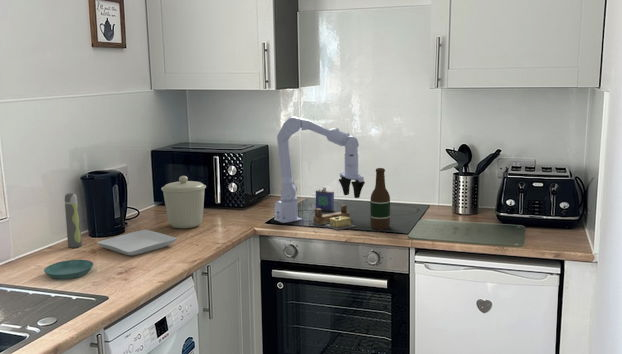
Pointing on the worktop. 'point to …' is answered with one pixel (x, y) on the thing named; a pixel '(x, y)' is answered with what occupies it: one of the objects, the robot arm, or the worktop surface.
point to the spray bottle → (72, 221)
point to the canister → (184, 202)
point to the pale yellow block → (340, 221)
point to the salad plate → (137, 242)
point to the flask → (325, 200)
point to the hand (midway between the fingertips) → (351, 196)
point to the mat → (340, 227)
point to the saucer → (68, 269)
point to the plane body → (329, 215)
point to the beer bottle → (380, 203)
